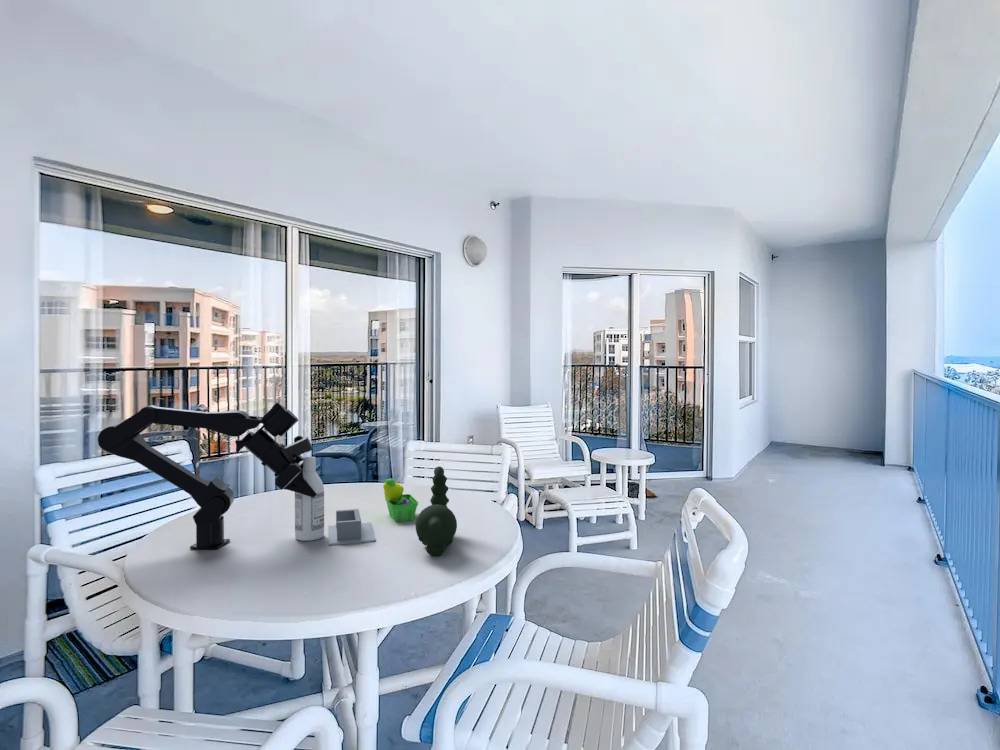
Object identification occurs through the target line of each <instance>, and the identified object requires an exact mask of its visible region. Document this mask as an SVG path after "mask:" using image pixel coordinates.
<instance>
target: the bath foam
mask: <svg viewBox="0 0 1000 750" xmlns="http://www.w3.org/2000/svg"><path fill="white" fill-rule="evenodd" d="M316 462H317V460H316V456H305V457H303V461H302V463H303V471H304V472H303V477H304V478H305V480H306V481H307V482H308V483H309V485H310V486H311V487H312V489H313V490H314V491H315V492H316V496H315V497H310V496H307V495H304V494H300V493H297V492H294V538H295V539H296V540H297V541H300V542H301V541H302V542H310V541H311V542H312V541H317V540H321V538H324V536H325V487H324V483H323V481H322V478H321V477H320V476H319V474H318V473H317V470H316V468H317V466H316Z"/></svg>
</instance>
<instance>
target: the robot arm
mask: <svg viewBox="0 0 1000 750" xmlns="http://www.w3.org/2000/svg"><path fill="white" fill-rule="evenodd" d="M297 422H299V418H298V417H297V416H296V415H295V414H294V413H293V412H292V411H291V410H290V409H287V407H285V406H283V405H282V404H281V403H280V402H275V404H273V405H272V407H271V408H270V409H269V411H267V412H266V413H265V414H264V415H263V416H259V415H258V416H256V415H255V416H254V415H249V414H248V413H247V412H246V411H243V410H225V411H212V412H211V411H200V410H199V411H198V410H193V409H191V410H189V409H181V408H180V409H179V408H170V407H161V406H158V405H154V404H153V405H147V406H144V407H142V408H141V409H140V410H139V411H137V412H136V413H135V414H133V415H131V416H129V417H128V418H126V419H125V420H123V421H122V422H120V423H118V424H113V425H111V426H107V427H105V428H103V429H102V430H101V431H100V432H99V434H98V436H97V443H98V444H97V445H98V447H99V448H100V449H101V450H103V451H104V452H107V453H109V454H111V455H115V456H116V457H119V458H124V459H127V460H132V461H134V462H136V463H138V464H139V465H141V466H143V467H144V468H146V469H148V470H149V471H151V472H152V473H154V474H156V475H158V476H159V477H161V478H162V479H164V480H165V481H167V482H169V483H170V484H172V485H174V486H176V487H177V488H178V489H181V490H182V491H184V492H185V493H187V494H188V495H189V496H190V497H191V498H192V499H193V500H194V502H195V503H196V504H197V505H198V506H199V507H200V508H199V509H198V510H197V511H196V512H195V513H194V514H193V516H192V519H193V521H194V523H195V525H196V527H195V528H196V529H195V530H196V531H195V538H196V540H195V541H196V542H195V543H194V544H192V545H190V546H189V549H191V550H193V549H195V550H196V549H197V550H218V549H219V548H221V547H223V546H225V545H226V544H228V543H229V542H231V539H230V538H225V519H224V517H225V516H224V514H226V513H227V512H228V511H229V509H230V508H231V506H232V505H233V503H234V501H235V494H234V491H233V490H232V489H231V488H230V486H231V485H230V484H227V483H225V482H223V481H222V480H220V479H219V478H218V477H217V476H214V477H213V478H212V479H211V480H209V479H204V478H202V477H200V476H198V475H197V474H196V473H194V472H192V471H191V470H189V469H188V468H186V467H184V465H181V464H179V463H178V462H176V461H175V460H173V459H171V458H169V457H168V456H167V455H165V454H163V453H161V452H160V451H159V450H157V449H155V448H153V447H152V446H150V445H149V444H148V442H147V441H146V440H145V438H144V437H143V436H142V434H141V433H142V432H144V431H145V430H146V429H148V428H149V427H151V426H152V424H157V425H158V424H159V425H167V426H177V427H188V428H197V429H206V430H210V431H211V432H212V431H213V432H215V433H218V434H221V435H225V436H230V437H241V436H242V435H244V434H245V433H246V432H247V431H248V433H247V434H245V435H244V437H243V438H241V439H236V440H235V452H236V453H239V452H241V450H242V449H243V448H245V449H246V450H248V451H249V452H250V453H251V454H252V455H254V457H256V458H257V459H258V460H259V461H260V462H261V463H260V464H261V465H262V466H263V467H265V466H266V467H267V468H268V469H269V470H270V471H271V472H273V474H274V476H275V479H274V480H275V481H274V482H275V483H274V485H275V486H276V487H278V488H279V489H280V490H281V491H282V490H286V491H287V490H288V491H291V492H294V493H295V492H297V493H300V494H304V495H307V496H310V497H315V496H316V492H315V491H314V490H313V489H312V487H311V486H310V485H309V483H308V482H307V481H306V480H305V478H304V477H303V472H304V471H303V458H304V457H303V456H302V455H303V454H305V453H309V452H311V451H312V450H313V448H314V447H313V445H312V443H311V440H310V439H309V437H308V436H302V435H300V434H299V435H297V436H295V437H294V438H293V442H292V443H291V444H288V445H286V446H285V444H283V443H278V442H277V441H276V440H275V439H274V438H276V437H278V436H279V437H283V436H284V435H285V434H286V433H288V431H290V429H291V428H292V427H293V426H294V425H296V423H297ZM260 424H262V426H261V427H260V428H258V429H257V430H256V432H253V431H250V430H252V429H256V428H257V427H259V425H260ZM264 429H265V430H266V431H265V430H264ZM267 432H268V433H269V434H268V433H267ZM272 436H273V437H274V438H273V437H272ZM301 462H302V463H301Z"/></svg>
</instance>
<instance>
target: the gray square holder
mask: <svg viewBox="0 0 1000 750" xmlns="http://www.w3.org/2000/svg"><path fill="white" fill-rule="evenodd" d="M327 527H328V528H327V531H328V533H327V535H328V536H327V537H328V546H337V545H339V546H341V545H351V544H363V543H373V542H376V536H375V534H374V529H373V527H372V523H371V522H362V518H361V514H360V510H359V508H353V509H339V510H337V509H336V510H335V525H328V526H327Z"/></svg>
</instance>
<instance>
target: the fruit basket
mask: <svg viewBox="0 0 1000 750" xmlns="http://www.w3.org/2000/svg"><path fill="white" fill-rule="evenodd" d="M404 491H405V490H404V487H403V485H401V484H400V483H399V482H397V481H395V479H393V478H392V477H391V478H388V479H384V483H383V493H384V498H385V499H384V500H385V502H386V506H387V509H388V513H389V515H390V516H391V518H392V519H393V521H394V522H396V523H397V522H407V521H413V520H414V519H415V515H416V511H417V507H418V505H419V502H418V501H417V499H415V497H414V496H413V495H412V494H411V493H410V494H409V493H405V494H404Z"/></svg>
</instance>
